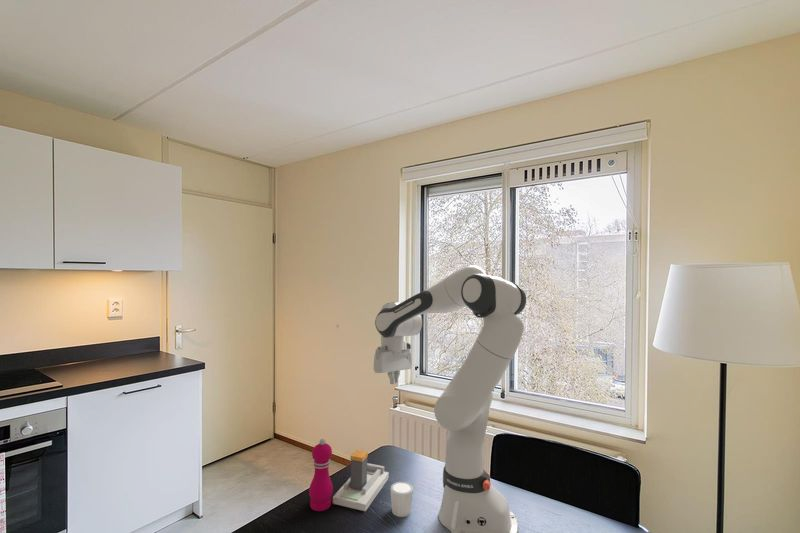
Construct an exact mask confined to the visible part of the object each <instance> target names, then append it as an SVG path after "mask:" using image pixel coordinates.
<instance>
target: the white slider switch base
mask: <svg viewBox="0 0 800 533" xmlns="http://www.w3.org/2000/svg"><path fill="white" fill-rule="evenodd" d="M389 474H390V472H388V471H385V465H379V464H373V463H369V462H367V483H366V484H365V486H364V487H363V488H362V490H358V489H353V488H350V477H349V478H348V479H347V481H346V482H345V483H344V484H343V485H342V486H341V487H340V488H339V490H337V492H335V494H334V495H333V496H332V505H337V506H341V507H346V508H349V509H354V510H359V511H361V512H362V511H363V512H366V511H367V510H368V508H369V507H370V506H371V504H372V502H374V499H376V497H377V496H378V494H379V493H380V492H381V490H382V489H383V487H384V486H385V484H386V483H387V481H388V480H389V479H388V478H390V477H389V476H390V475H389Z"/></svg>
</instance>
